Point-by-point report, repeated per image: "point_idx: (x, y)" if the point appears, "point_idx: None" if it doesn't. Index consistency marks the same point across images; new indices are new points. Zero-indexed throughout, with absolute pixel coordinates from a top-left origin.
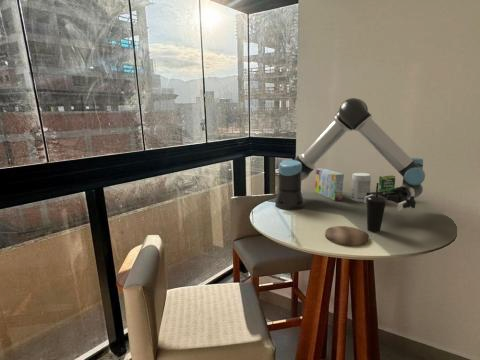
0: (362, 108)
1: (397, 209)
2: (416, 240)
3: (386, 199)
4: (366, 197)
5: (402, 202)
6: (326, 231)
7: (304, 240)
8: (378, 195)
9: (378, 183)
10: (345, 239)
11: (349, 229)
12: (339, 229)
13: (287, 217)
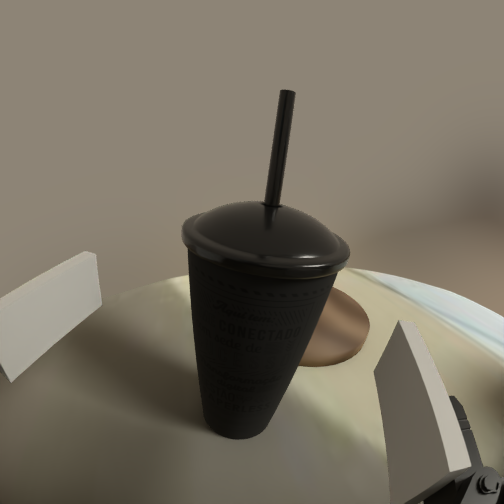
0: None
1: (99, 296)
2: (61, 359)
3: (185, 223)
4: (335, 234)
5: (37, 279)
6: (353, 301)
7: (357, 281)
8: (260, 209)
9: (280, 92)
10: None
11: (315, 334)
12: (339, 323)
13: (493, 346)
